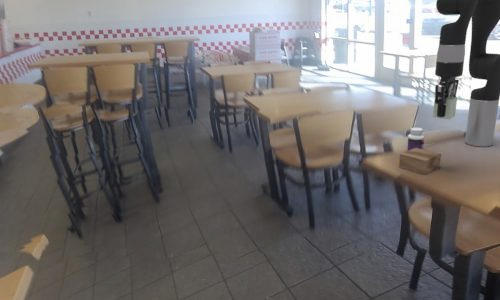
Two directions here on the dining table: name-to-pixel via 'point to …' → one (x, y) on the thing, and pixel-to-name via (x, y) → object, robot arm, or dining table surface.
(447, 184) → the dining table surface
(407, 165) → the walnut block
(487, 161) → the dining table surface
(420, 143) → the pill bottle
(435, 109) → the sage cube
